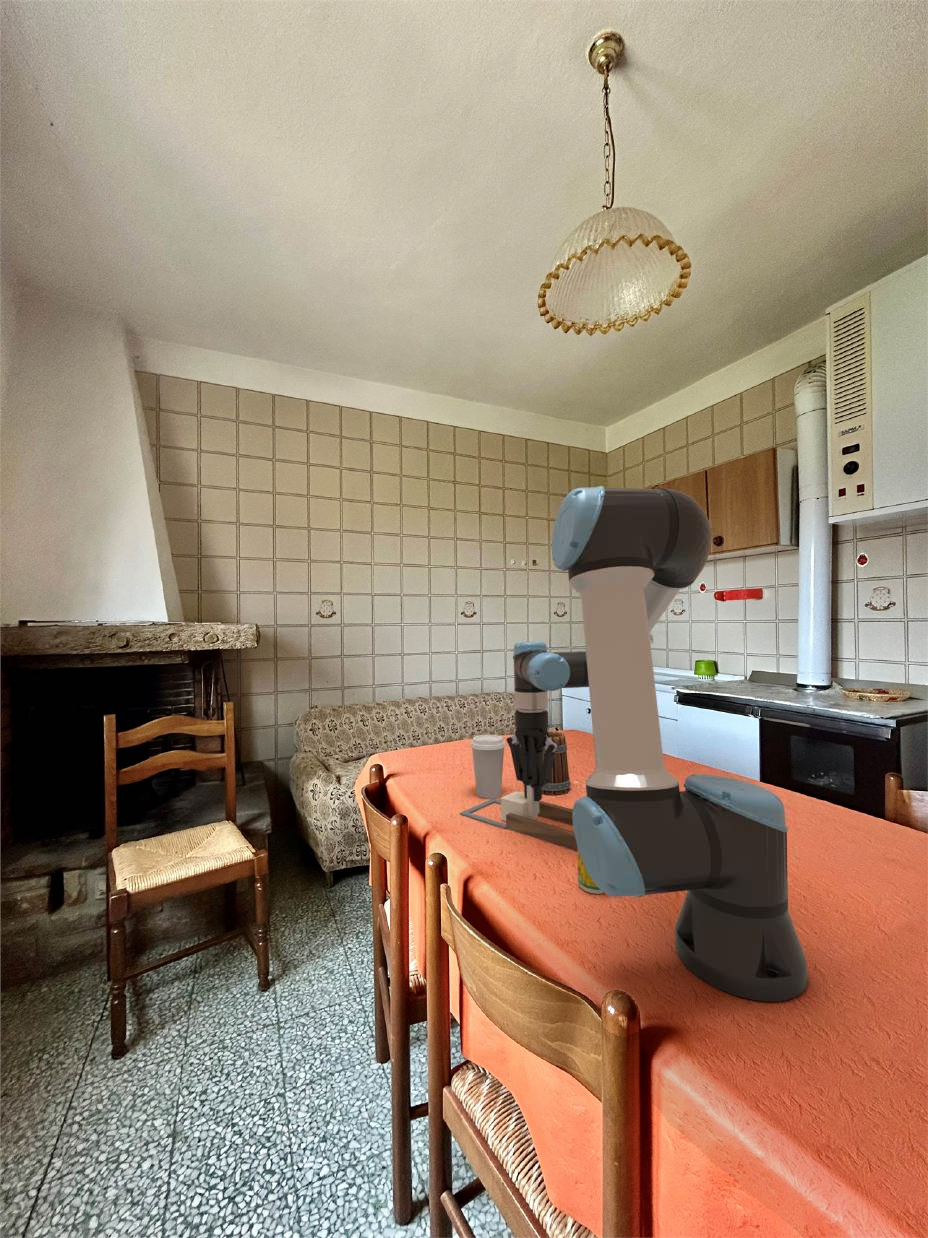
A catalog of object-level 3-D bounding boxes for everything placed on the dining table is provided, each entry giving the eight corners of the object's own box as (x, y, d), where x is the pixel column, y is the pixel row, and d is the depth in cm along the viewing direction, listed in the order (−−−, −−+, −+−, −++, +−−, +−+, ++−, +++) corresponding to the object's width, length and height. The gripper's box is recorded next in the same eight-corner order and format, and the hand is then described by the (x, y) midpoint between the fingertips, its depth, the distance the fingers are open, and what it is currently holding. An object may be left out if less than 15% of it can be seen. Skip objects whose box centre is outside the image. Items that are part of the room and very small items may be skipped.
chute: (599, 858, 94) (598, 842, 94) (506, 828, 109) (506, 815, 109) (625, 837, 103) (625, 822, 103) (536, 812, 118) (536, 800, 118)
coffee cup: (463, 796, 130) (463, 739, 130) (483, 786, 138) (482, 732, 138) (494, 803, 124) (493, 743, 125) (513, 792, 132) (512, 736, 133)
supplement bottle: (608, 897, 80) (607, 838, 81) (575, 891, 82) (574, 833, 83) (612, 881, 85) (611, 826, 86) (581, 876, 87) (580, 821, 88)
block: (522, 826, 109) (522, 803, 109) (501, 819, 113) (500, 798, 113) (537, 818, 114) (537, 796, 114) (516, 812, 118) (516, 791, 118)
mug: (577, 788, 135) (576, 733, 135) (556, 798, 127) (555, 740, 127) (530, 777, 145) (529, 726, 146) (508, 786, 138) (507, 732, 138)
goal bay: (505, 829, 108) (505, 827, 108) (459, 814, 117) (459, 813, 117) (537, 812, 118) (537, 810, 118) (493, 799, 127) (493, 798, 127)
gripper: (565, 710, 110) (567, 816, 110) (517, 704, 119) (519, 803, 118) (546, 715, 105) (549, 826, 104) (498, 709, 113) (500, 812, 113)
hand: (533, 814), depth 111 cm, fingers closed
